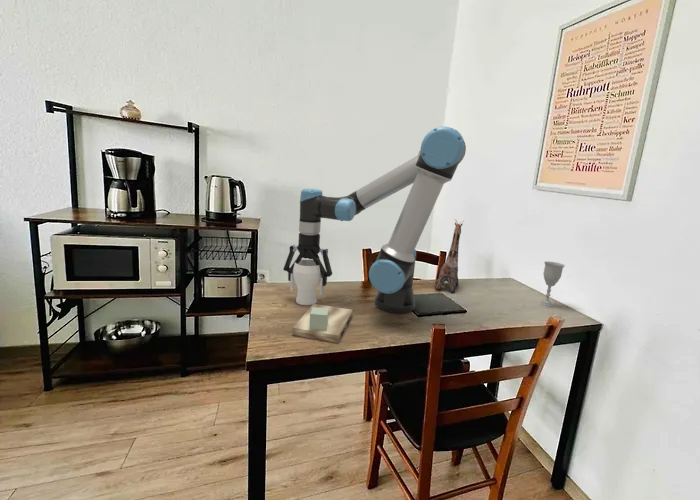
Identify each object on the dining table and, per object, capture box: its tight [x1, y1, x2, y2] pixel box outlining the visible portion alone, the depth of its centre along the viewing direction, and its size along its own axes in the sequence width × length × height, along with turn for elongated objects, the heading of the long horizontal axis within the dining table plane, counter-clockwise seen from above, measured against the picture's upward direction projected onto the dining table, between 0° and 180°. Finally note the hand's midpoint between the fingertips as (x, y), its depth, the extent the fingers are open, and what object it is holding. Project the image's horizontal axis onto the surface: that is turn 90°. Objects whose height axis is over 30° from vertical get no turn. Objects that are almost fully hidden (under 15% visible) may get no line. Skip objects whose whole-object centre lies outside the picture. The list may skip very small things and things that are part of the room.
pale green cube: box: [309, 307, 329, 331], centre depth 106 cm, size 5×5×5 cm
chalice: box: [538, 260, 566, 309], centre depth 144 cm, size 7×7×18 cm
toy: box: [434, 219, 465, 294], centre depth 157 cm, size 9×26×30 cm, turn 156°
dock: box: [292, 303, 354, 344], centre depth 113 cm, size 14×20×2 cm
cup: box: [293, 258, 322, 306], centre depth 130 cm, size 11×11×15 cm
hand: (306, 291), depth 131 cm, fingers closed on cup, 11 cm apart
